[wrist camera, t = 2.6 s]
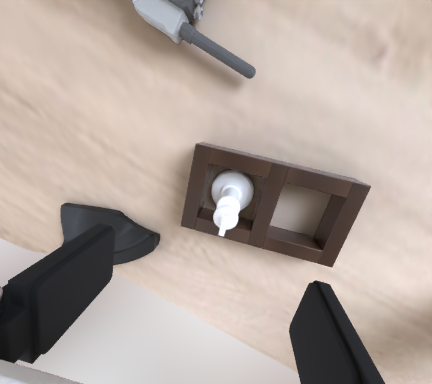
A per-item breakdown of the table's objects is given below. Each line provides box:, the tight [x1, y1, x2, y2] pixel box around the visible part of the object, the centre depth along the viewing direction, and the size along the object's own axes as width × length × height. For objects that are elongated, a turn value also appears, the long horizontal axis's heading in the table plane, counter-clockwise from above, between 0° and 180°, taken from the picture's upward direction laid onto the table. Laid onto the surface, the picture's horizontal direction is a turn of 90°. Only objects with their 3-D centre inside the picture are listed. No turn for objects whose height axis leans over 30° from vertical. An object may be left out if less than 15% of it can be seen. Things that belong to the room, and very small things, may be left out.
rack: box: [181, 142, 371, 267], centre depth 22 cm, size 17×9×3 cm, turn 77°
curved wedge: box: [61, 203, 160, 265], centre depth 27 cm, size 8×14×2 cm, turn 82°
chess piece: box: [211, 170, 254, 237], centre depth 19 cm, size 5×5×10 cm
